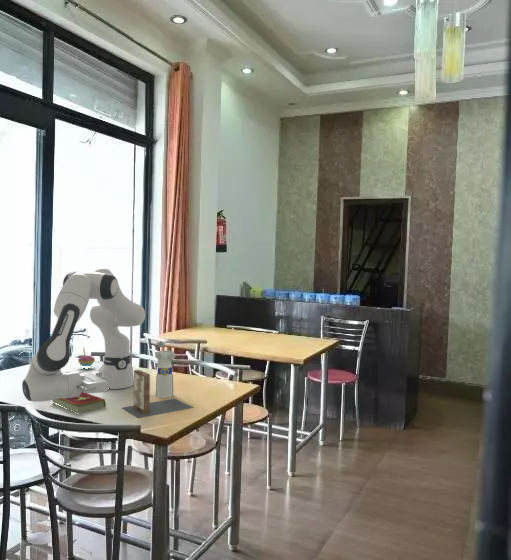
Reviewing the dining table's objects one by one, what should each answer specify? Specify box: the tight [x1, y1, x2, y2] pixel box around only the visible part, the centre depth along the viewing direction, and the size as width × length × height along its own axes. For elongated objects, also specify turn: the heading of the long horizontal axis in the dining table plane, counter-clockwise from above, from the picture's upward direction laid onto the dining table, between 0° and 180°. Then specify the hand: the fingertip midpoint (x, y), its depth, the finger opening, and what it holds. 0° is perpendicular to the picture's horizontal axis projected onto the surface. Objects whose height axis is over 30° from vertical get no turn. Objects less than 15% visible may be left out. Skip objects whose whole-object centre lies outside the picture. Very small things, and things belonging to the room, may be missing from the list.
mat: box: [121, 398, 195, 419], centre depth 192 cm, size 16×24×1 cm, turn 128°
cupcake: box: [78, 346, 96, 367], centre depth 264 cm, size 9×8×12 cm
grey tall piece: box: [155, 340, 176, 399], centre depth 211 cm, size 8×9×25 cm
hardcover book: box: [51, 392, 107, 414], centre depth 195 cm, size 12×21×4 cm, turn 49°
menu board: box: [133, 369, 151, 414], centre depth 188 cm, size 10×2×15 cm, turn 38°
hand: (111, 379), depth 180 cm, fingers closed
